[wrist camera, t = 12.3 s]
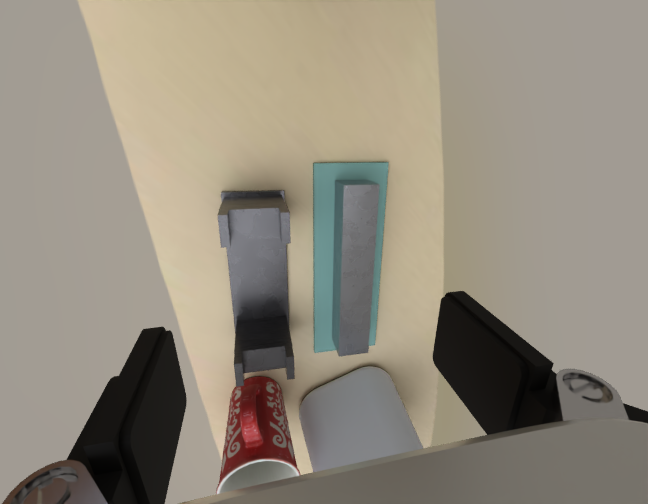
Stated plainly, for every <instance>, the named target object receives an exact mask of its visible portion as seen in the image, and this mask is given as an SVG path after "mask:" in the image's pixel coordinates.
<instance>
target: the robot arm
mask: <svg viewBox="0 0 648 504" xmlns="http://www.w3.org/2000/svg"><path fill="white" fill-rule="evenodd" d="M433 361H434V364H435V366H436V367H437V368H438V370H439V371H440V372H441V374H442V375H443V376H444V378H445V379H446V380H447V382H448V383H449V384H450V386H451V387H452V388H453V390H454V391H455V392H456V394H457V395H458V396H459V398H460V399H461V400H462V401H463V403H464V404H465V406H466V407H467V408H468V410H469V411H470V412H471V414H472V415H473V416H474V418H475V419H476V420H477V422H478V423H479V424H480V426H481V427H482V428H483V430H484V431H485V432H486V433H487V435H485V436H480V437H476V438H471V439H466V440H461V441H457V442H452V443H447V444H443V445H438V446H433V447H428V448H423V449H419V450H414V451H409V452H405V453H400V454H395V455H391V456H386V457H381V458H377V459H372V460H368V461H363V462H358V463H354V464H349V465H345V466H340V467H335V468H331V469H326V470H322V471H317V472H313V473H308V474H304V475H299V476H295V477H290V478H286V479H281V480H277V481H272V482H268V483H263V484H259V485H254V486H250V487H245V488H241V489H237V490H233V491H229V492H224V493H220V494H216V495H212V496H208V497H204V498H200V499H195V500H191V501H187V502H183V503H179V504H648V412H647V411H645V410H641V409H639V408H636V407H633V406H629V405H627V404H623V403H622V400H621V398H620V396H619V394H618V392H617V391H616V390H615V389H614V388H613V387H612V386H611V385H610V384H609V383H607V382H606V381H604V380H603V379H601V378H599V377H597V376H595V375H593V374H591V373H588V372H585V371H582V370H577V369H563V370H561V371H559V372H558V373H557V374H556V373H554V372H553V371H552V367H553V363H552V362H551V361H550V360H549V359H547V358H546V357H545V356H544V355H542V354H541V353H540V352H539V351H537V350H536V349H535V348H534V347H532V346H531V345H530V344H529V343H527V342H526V341H525V340H524V339H522V338H521V337H520V336H519V335H518V334H516V333H515V332H514V331H512V330H511V329H510V328H509V327H508V326H506V325H505V324H504V323H503V322H501V321H500V320H499V319H497V318H496V317H495V316H494V315H493V314H491V313H490V312H489V311H488V310H486V309H485V308H484V307H483V306H481V305H480V304H479V303H478V302H477V301H475V300H474V299H473V298H472V297H470V296H469V295H468V294H467V293H465V292H464V291H458V292H450V293H446V295H445V297H443V298H442V299H441V304H440V311H439V317H438V324H437V331H436V338H435V344H434V351H433ZM185 409H186V393H185V388H184V384H183V379H182V375H181V371H180V366H179V361H178V357H177V352H176V348H175V343H174V339H173V335H172V332H171V331H166V330H165V328H164V327H157V328H149V329H143V330H142V332H141V334H140V336H139V338H138V340H137V342H136V344H135V345H134V347H133V349H132V352H131V353H130V355H129V357H128V359H127V361H126V363H125V365H124V367H123V369H122V371H121V373H120V375H119V376H115V377H113V378H111V379H110V381H109V382H108V384H107V386H106V387H105V389H104V391H103V393H102V395H101V397H100V399H99V401H98V402H97V404H96V406H95V408H94V410H93V412H92V413H91V415H90V417H89V419H88V421H87V423H86V425H85V426H84V429H83V430H82V432H81V434H80V436H79V438H78V439H77V441H76V443H75V445H74V447H73V449H72V451H71V453H70V454H69V456H68V458H67V460H64V461H58V462H55V463H52V464H50V465H47V466H45V467H43V468H41V469H39V470H37V471H36V472H34V473H33V474H31V475H30V476H28V477H27V478H26V479H24V480H23V481H22V482H20V483H19V485H17V486H16V488H14V489H13V490H12V491H11V492H10V493H9V495H8V496H7V498H6V499H5V500H4V502H3V503H2V504H164V503H165V499H166V494H167V490H168V485H169V480H170V476H171V472H172V467H173V463H174V458H175V454H176V449H177V444H178V440H179V436H180V431H181V427H182V422H183V417H184V413H185Z"/></svg>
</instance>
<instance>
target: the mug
mask: <svg viewBox="0 0 648 504" xmlns="http://www.w3.org/2000/svg"><path fill="white" fill-rule="evenodd" d="M299 475H300V472H299V470H298V468H297V464H296V460H295V455H294V450H293V445H292V440H291V436H290V431H289V426H288V421H287V416H286V411H285V406H284V402H283V396H282V392H281V388H280V386H279V385H278V384H277V383H276V382H275V381H274V380H272V379H270V378H267V377H261V376H258V377H251V378H248V379H246V380H244V386H239V387H235V388H234V390H233V392H232V395H231V399H230V406H229V415H228V422H227V429H226V437H225V445H224V451H223V459H222V467H221V474H220V481H219V484H218V487H217V490H216V494H220V493H224V492H229V491H233V490H237V489H241V488H245V487H250V486H254V485H259V484H263V483H268V482H272V481H277V480H281V479H286V478H290V477H295V476H299Z"/></svg>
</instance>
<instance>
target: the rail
mask: <svg viewBox="0 0 648 504" xmlns="http://www.w3.org/2000/svg"><path fill="white" fill-rule="evenodd" d="M379 186H380V184H377V183H375V182H372V181H370V180H368V179H361V180H335V203H334V253H333V303H332V340H333V343H334V345H335V348H336V350H337V353H338V355H339V356H346V355H354V354H361V353H368V349H369V334H370V319H371V304H372V289H373V275H374V260H375V245H376V230H377V216H378V201H379Z"/></svg>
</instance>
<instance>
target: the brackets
mask: <svg viewBox="0 0 648 504" xmlns="http://www.w3.org/2000/svg"><path fill="white" fill-rule="evenodd" d="M221 198H222V204H221V206H220V209H219V213H218V223H219V232H220V241H221V248H222V247H227V256H228V266H229V276H230V285H231V295H232V304H233V314H234V324H235V333H236V336H235V350H234V354H235V357H234V369H235V378H236V387H239V386H244V373H249V372H256V371H264V370H271V369H278V368H286V374H287V380H288V379H295V378H294V355H293V349H292V342H291V337H290V332H289V312H288V284H287V256H286V244H288V243H290V214H289V210H288V207H287V205H286V203H285V199H284V190H268V191H232V192H221Z"/></svg>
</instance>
